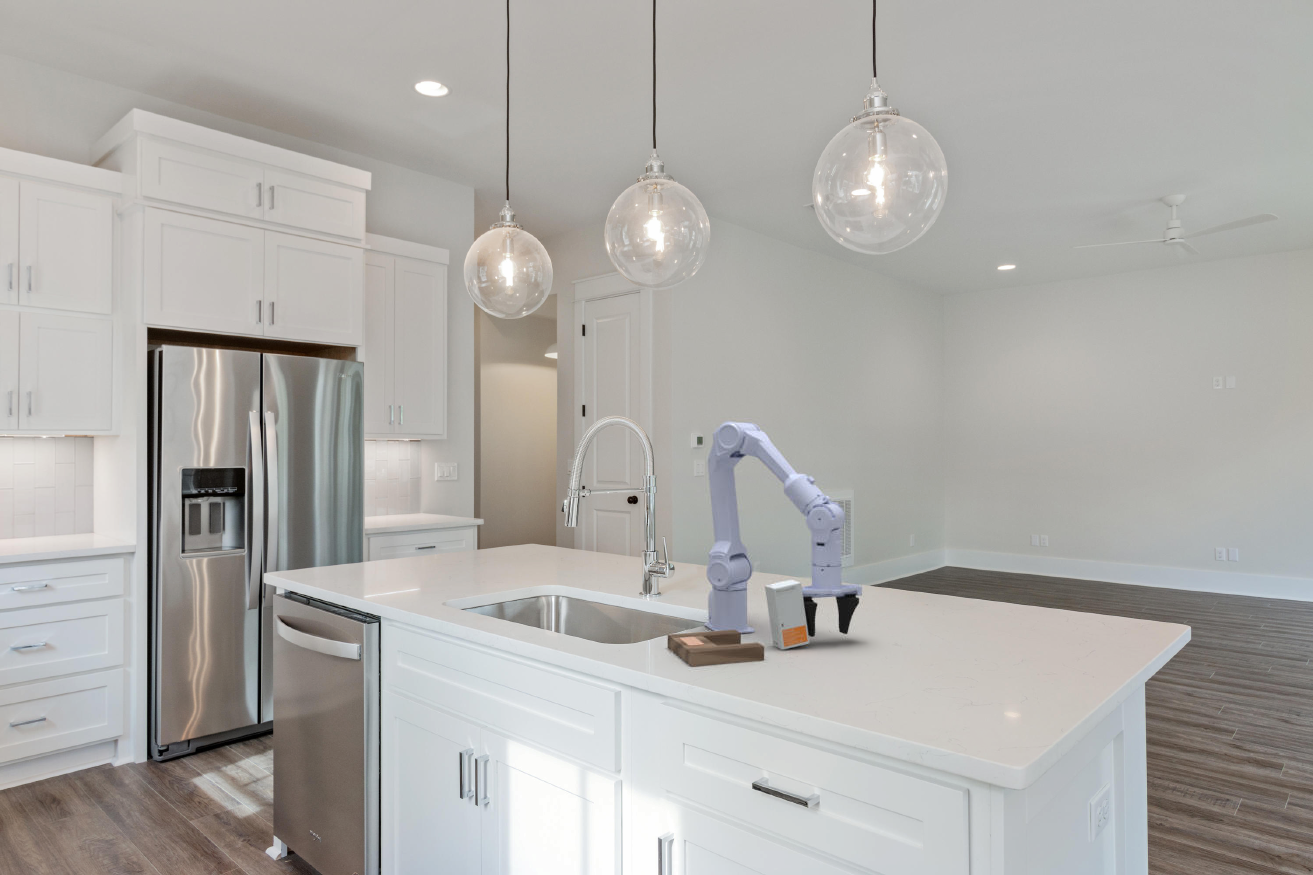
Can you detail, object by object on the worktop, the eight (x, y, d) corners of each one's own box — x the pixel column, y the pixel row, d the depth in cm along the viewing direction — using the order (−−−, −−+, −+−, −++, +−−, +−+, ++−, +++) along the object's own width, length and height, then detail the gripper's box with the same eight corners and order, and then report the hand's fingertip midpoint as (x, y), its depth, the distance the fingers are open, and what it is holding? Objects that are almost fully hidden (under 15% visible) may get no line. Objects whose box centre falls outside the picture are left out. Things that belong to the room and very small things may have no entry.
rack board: (667, 647, 151) (667, 633, 151) (735, 642, 155) (734, 628, 155) (691, 666, 137) (691, 651, 137) (764, 660, 141) (764, 645, 141)
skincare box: (782, 650, 148) (772, 588, 148) (773, 645, 152) (763, 585, 152) (811, 643, 149) (801, 582, 149) (801, 638, 154) (791, 578, 153)
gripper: (802, 569, 147) (803, 641, 147) (870, 565, 151) (870, 635, 151) (785, 564, 154) (786, 633, 154) (851, 560, 158) (851, 628, 158)
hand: (827, 634), depth 153 cm, fingers open, 7 cm apart
